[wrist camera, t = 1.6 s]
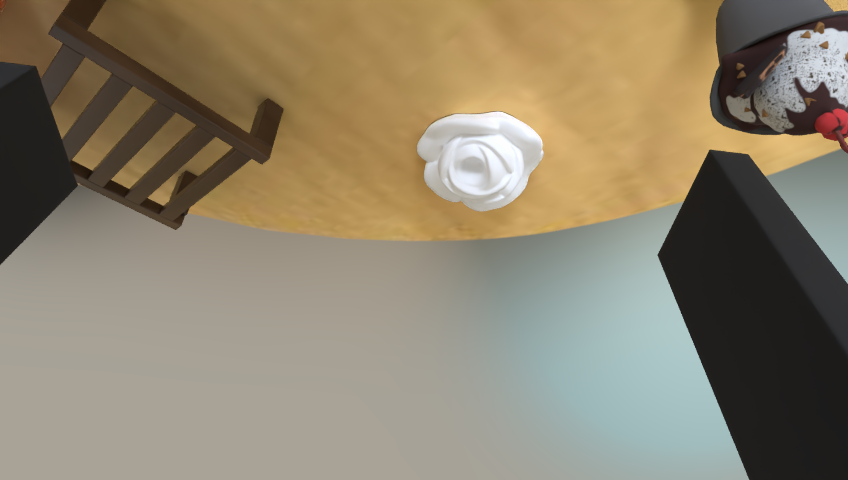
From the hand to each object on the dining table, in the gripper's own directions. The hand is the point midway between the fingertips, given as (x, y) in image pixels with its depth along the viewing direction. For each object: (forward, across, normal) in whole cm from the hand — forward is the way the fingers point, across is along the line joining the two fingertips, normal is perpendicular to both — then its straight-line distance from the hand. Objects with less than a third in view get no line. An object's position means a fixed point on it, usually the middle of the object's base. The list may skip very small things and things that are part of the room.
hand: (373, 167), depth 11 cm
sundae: (+24, +16, +1) cm, 29 cm away
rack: (+28, -20, -14) cm, 37 cm away
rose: (+29, +5, -15) cm, 33 cm away
